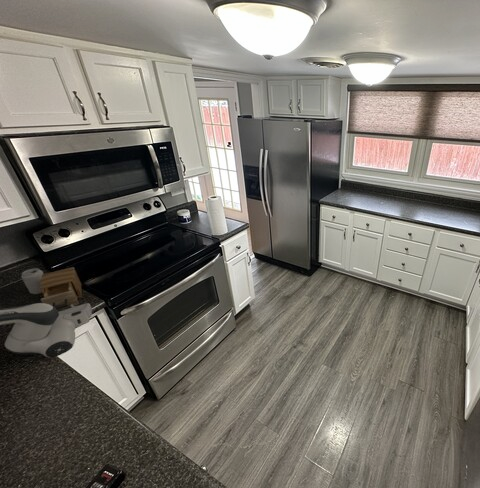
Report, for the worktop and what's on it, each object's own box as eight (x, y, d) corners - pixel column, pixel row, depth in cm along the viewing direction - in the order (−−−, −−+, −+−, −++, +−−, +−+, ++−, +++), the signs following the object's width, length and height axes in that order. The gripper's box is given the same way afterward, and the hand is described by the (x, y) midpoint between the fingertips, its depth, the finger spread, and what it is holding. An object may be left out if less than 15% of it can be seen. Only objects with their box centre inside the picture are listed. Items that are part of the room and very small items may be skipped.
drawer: (80, 312, 121) (72, 297, 117) (48, 322, 115) (39, 306, 111) (79, 292, 134) (72, 278, 130) (50, 300, 128) (43, 285, 124)
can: (49, 292, 135) (38, 272, 130) (28, 296, 132) (17, 276, 126) (52, 285, 141) (42, 265, 136) (32, 289, 137) (21, 269, 132)
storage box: (81, 297, 133) (73, 279, 128) (49, 306, 126) (39, 287, 121) (81, 284, 143) (73, 267, 138) (51, 292, 136) (42, 274, 131)
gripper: (27, 343, 103) (31, 324, 113) (94, 321, 116) (92, 305, 125) (20, 331, 101) (24, 312, 110) (89, 310, 113) (87, 294, 122)
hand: (61, 308), depth 118 cm, fingers closed on drawer, 5 cm apart
